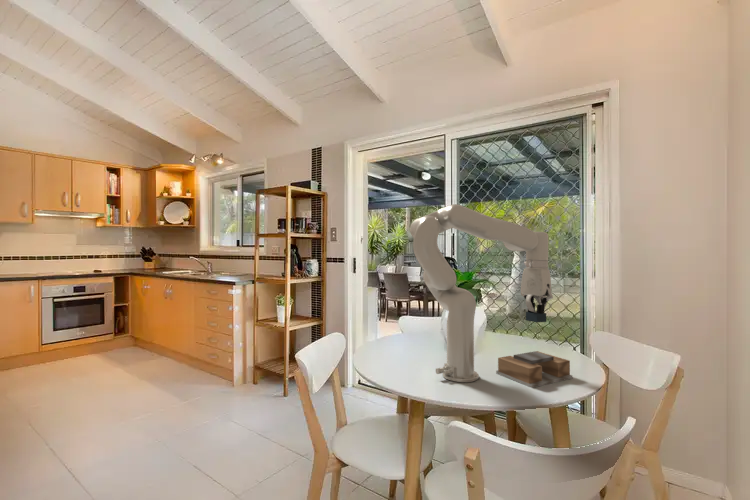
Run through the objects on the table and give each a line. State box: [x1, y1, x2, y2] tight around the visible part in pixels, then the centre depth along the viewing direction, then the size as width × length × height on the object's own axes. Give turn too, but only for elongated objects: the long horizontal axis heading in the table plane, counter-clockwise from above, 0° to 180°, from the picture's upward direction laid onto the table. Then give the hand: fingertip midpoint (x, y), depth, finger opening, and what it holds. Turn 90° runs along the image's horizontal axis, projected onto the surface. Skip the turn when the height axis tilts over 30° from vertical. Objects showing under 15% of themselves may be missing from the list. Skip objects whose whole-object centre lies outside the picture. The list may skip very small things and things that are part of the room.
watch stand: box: [495, 350, 573, 389], centre depth 133 cm, size 20×16×7 cm
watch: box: [525, 294, 548, 323], centre depth 138 cm, size 6×8×11 cm
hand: (535, 313), depth 138 cm, fingers closed on watch, 3 cm apart
